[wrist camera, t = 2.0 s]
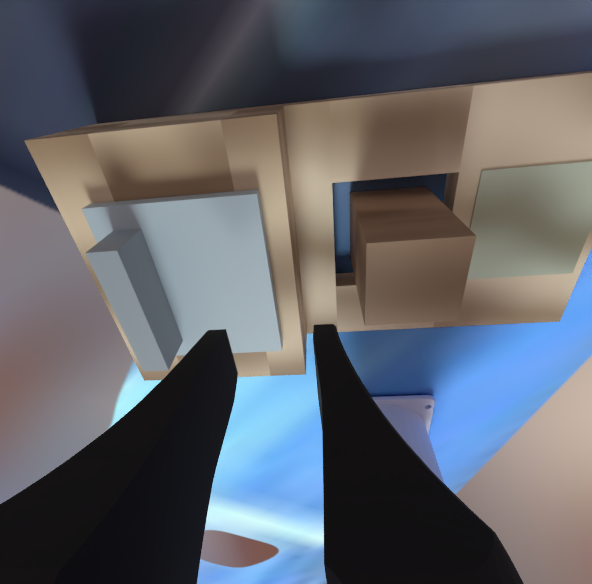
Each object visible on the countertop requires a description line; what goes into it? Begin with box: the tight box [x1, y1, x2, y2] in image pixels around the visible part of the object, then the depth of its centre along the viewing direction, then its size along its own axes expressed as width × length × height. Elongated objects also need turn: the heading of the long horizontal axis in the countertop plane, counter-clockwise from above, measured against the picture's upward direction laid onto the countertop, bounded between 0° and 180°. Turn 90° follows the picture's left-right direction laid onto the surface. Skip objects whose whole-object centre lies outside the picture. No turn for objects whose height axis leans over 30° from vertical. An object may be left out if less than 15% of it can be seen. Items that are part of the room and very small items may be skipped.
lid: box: [82, 189, 283, 371], centre depth 14 cm, size 8×7×3 cm
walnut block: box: [350, 186, 476, 326], centre depth 16 cm, size 4×4×6 cm
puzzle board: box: [25, 71, 592, 380], centre depth 17 cm, size 13×25×5 cm, turn 96°
